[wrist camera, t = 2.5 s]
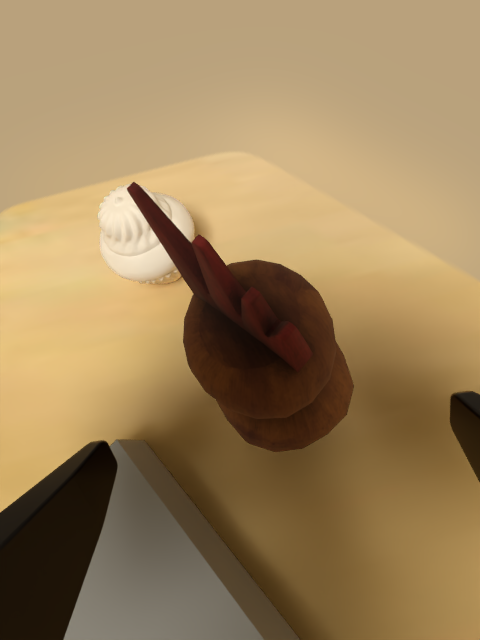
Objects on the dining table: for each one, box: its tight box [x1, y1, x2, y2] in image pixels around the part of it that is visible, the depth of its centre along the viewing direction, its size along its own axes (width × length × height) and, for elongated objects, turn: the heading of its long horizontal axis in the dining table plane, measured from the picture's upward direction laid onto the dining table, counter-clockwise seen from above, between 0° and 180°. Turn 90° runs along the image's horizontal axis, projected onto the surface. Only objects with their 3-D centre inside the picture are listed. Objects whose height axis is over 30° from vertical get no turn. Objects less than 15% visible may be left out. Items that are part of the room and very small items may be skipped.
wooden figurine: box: [127, 182, 354, 452], centre depth 12 cm, size 7×6×15 cm
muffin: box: [97, 184, 195, 284], centre depth 20 cm, size 6×6×7 cm
